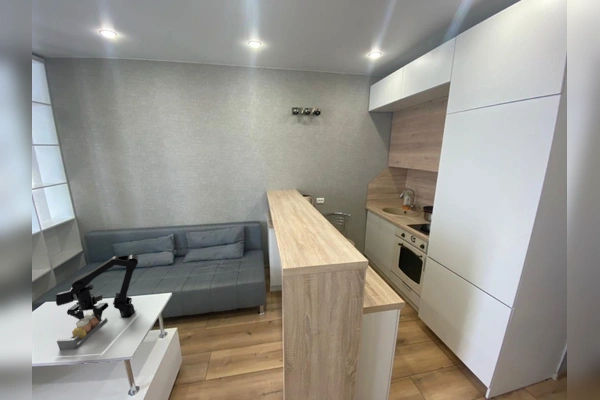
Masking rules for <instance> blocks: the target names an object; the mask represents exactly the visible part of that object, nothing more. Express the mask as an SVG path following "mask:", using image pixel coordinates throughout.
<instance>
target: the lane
mask: <svg viewBox="0 0 600 400" xmlns="http://www.w3.org/2000/svg"><path fill="white" fill-rule="evenodd" d="M106 321H108V317H104V318H102V317H101V320H100V321H99V322H100V323H99V324H98V325H97V326H96V327H95V328H94V329H92V330H91V331H90V332H89V333H88V334H87V335H86V336H85V337H84V338H78V339H76V338H74V337H73V335H71V336H70V337H69V338H59V339H57V340H56V343H57V346H58V349H59V351H62V350H63V351H67V350H77V349H78V348H79V347H80V346H81V345H82V344H83V343H84V342H85V341H87V340H88V339H89V337H91V336H92V335H94V334H95V332H96V331H97V330H99V328H100V327H102V325H103V324H105V323H106Z"/></svg>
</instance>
